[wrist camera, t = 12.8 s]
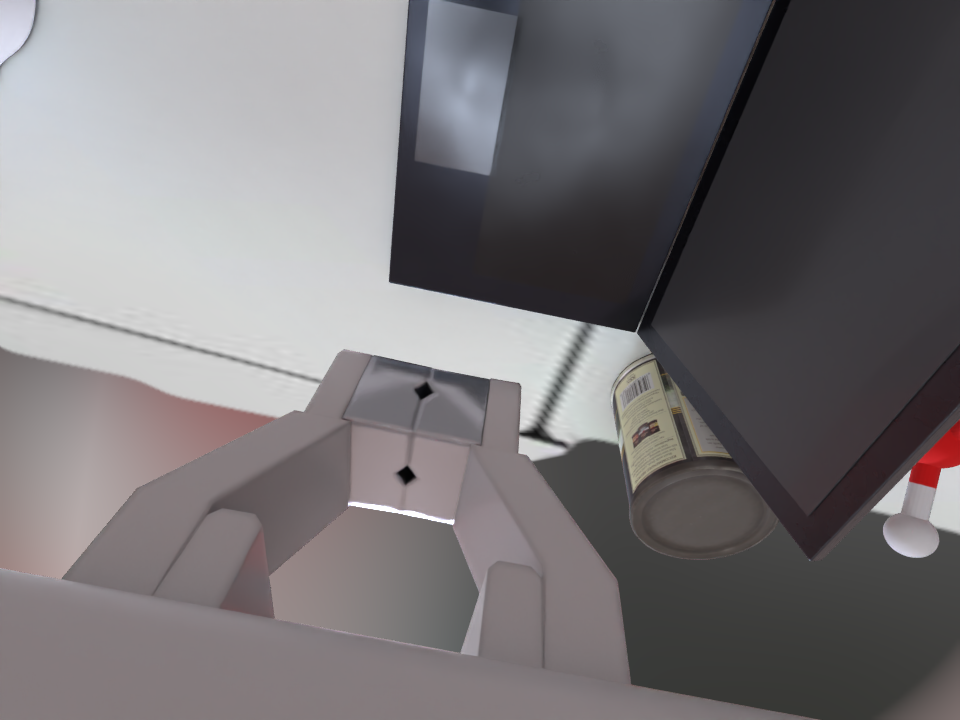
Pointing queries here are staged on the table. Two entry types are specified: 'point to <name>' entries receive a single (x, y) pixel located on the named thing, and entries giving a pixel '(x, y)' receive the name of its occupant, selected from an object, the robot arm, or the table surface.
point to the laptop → (558, 145)
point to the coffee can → (681, 472)
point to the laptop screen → (826, 261)
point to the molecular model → (922, 499)
